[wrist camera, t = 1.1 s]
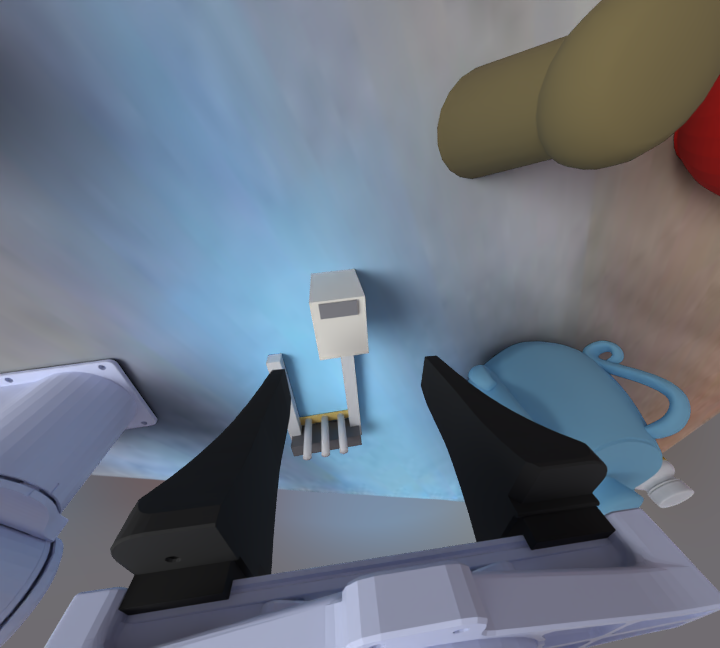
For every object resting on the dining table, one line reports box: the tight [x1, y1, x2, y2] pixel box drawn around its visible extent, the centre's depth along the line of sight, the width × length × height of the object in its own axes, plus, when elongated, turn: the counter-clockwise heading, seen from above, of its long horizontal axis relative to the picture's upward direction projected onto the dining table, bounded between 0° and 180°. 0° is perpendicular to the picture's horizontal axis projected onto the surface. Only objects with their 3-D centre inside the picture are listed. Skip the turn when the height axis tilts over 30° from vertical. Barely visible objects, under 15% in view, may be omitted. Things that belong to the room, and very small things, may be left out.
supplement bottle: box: [635, 456, 694, 508], centre depth 35 cm, size 5×5×10 cm
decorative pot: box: [468, 341, 691, 515], centre depth 25 cm, size 16×16×14 cm
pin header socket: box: [266, 354, 362, 460], centre depth 25 cm, size 8×12×4 cm, turn 4°
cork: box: [437, 0, 720, 179], centre depth 12 cm, size 6×6×11 cm
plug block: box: [309, 269, 369, 360], centre depth 19 cm, size 4×4×6 cm
